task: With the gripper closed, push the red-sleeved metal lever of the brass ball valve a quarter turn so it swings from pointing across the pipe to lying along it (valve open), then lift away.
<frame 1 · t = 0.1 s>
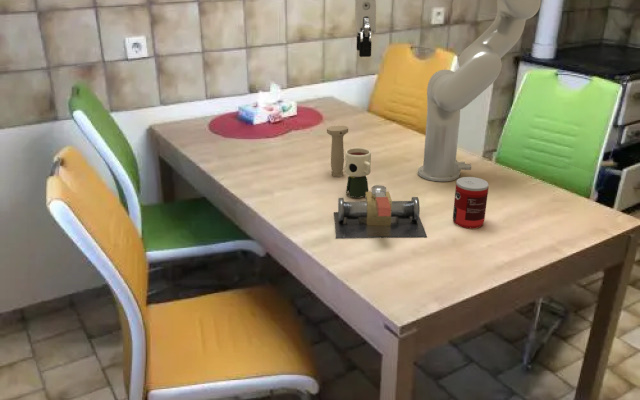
hand: (363, 53, 165), 37 cm above the table, tool pointing down, fingers open, 9 cm apart
lever: (381, 199, 142), point 8 cm above the table, hinge at 90.0°
character mug: (357, 195, 166), on the table
handle: (337, 176, 180), on the table
canned food: (468, 223, 150), on the table
valve: (377, 221, 151), on the table
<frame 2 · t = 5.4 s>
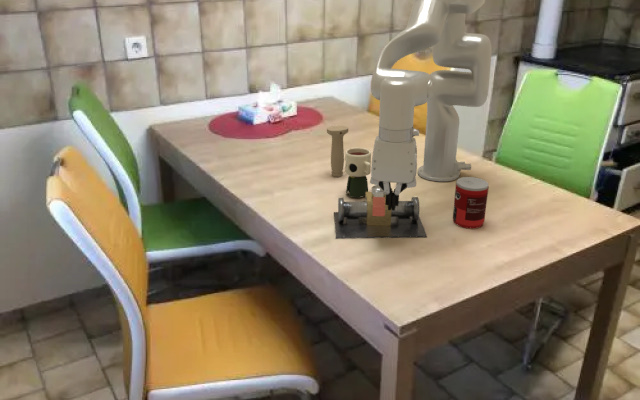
hand: (391, 207, 139), 8 cm above the table, tool pointing down, fingers closed
lever: (378, 199, 142), point 8 cm above the table, hinge at 83.8°, touching gripper
everything else where it was.
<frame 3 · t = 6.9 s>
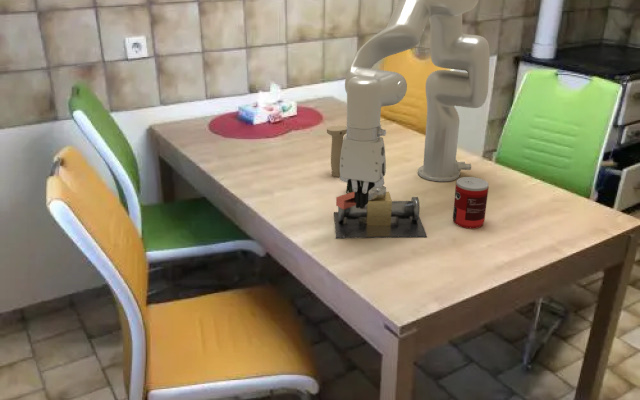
hand: (361, 205, 140), 8 cm above the table, tool pointing down, fingers closed
lever: (362, 196, 144), point 8 cm above the table, hinge at 36.4°, touching gripper
everything else where it was.
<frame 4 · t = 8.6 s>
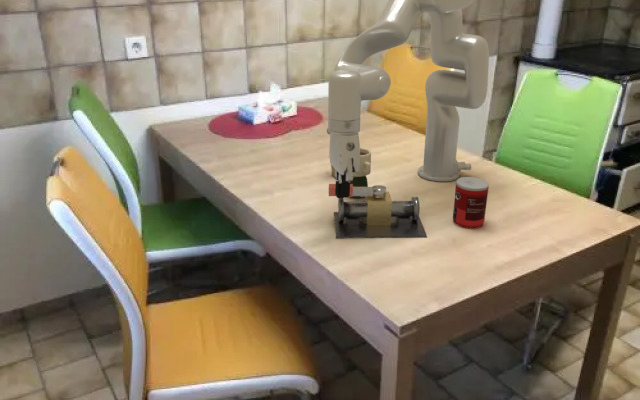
hand: (342, 196, 145), 8 cm above the table, tool pointing down, fingers closed
lever: (357, 190, 148), point 8 cm above the table, hinge at -3.6°, touching gripper
everything else where it was.
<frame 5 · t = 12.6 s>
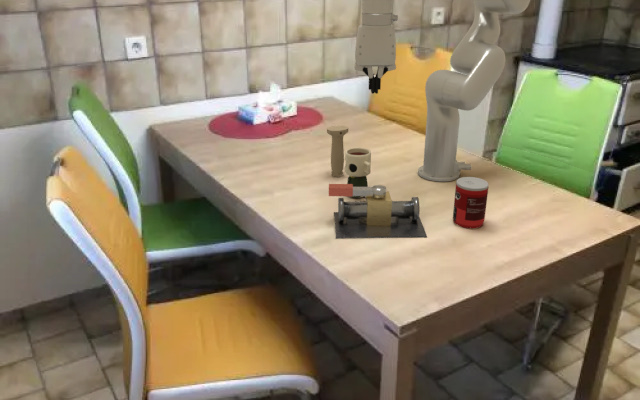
hand: (374, 92, 155), 29 cm above the table, tool pointing down, fingers closed
lever: (357, 190, 148), point 8 cm above the table, hinge at -3.4°
everything else where it was.
at the end: lever at -3° (first picture: +90°) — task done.
